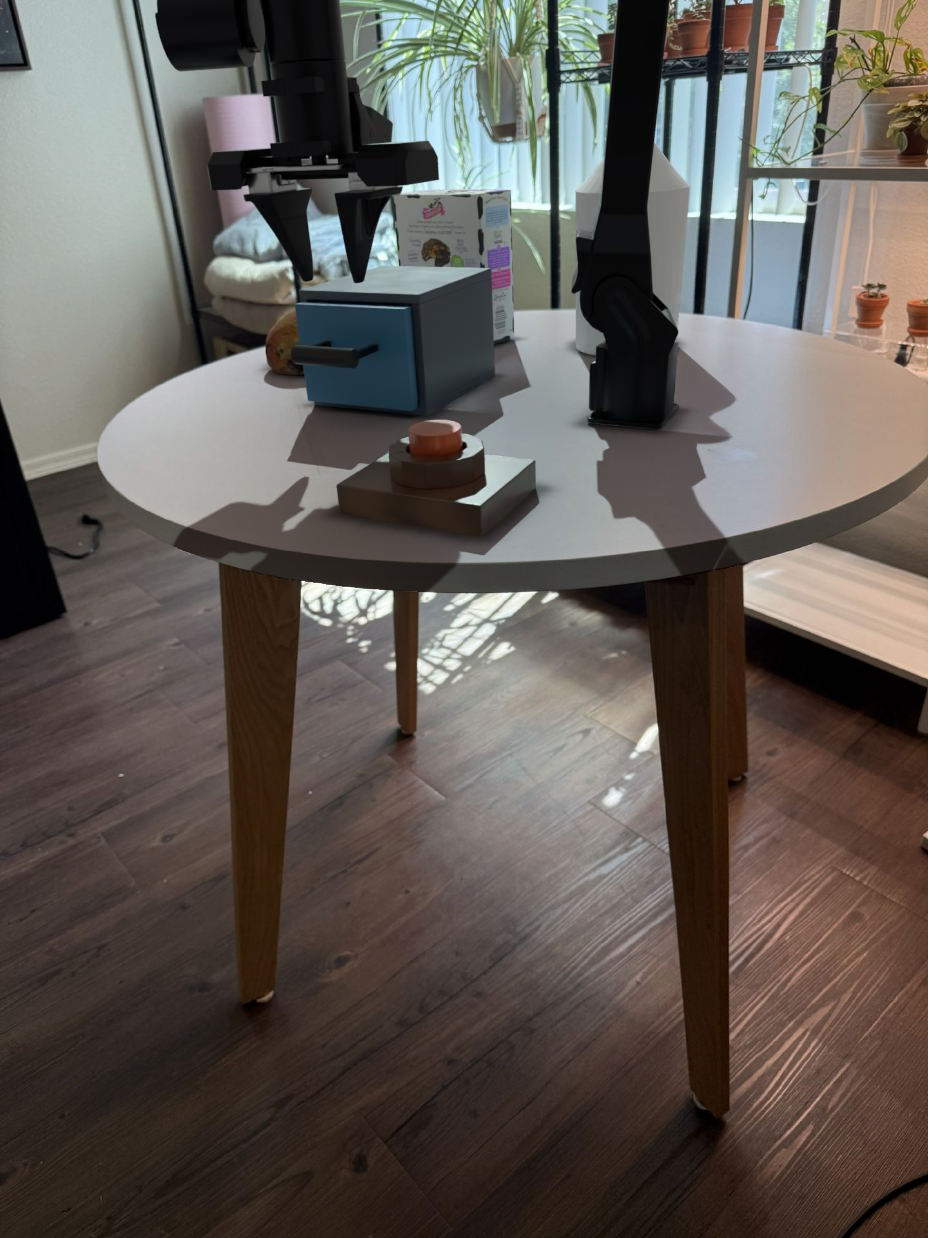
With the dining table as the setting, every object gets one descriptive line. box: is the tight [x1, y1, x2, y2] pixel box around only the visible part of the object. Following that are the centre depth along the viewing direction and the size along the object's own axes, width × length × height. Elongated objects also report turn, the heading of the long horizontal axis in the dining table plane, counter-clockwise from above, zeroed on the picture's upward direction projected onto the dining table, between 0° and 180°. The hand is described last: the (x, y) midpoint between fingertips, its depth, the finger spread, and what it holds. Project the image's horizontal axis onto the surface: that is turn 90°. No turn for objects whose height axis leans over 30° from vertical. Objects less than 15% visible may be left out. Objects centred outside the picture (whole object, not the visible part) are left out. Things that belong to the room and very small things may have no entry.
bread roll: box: [264, 309, 304, 376], centre depth 98 cm, size 10×10×8 cm
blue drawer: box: [291, 300, 419, 411], centre depth 82 cm, size 18×11×9 cm, turn 153°
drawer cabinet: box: [298, 265, 496, 417], centre depth 85 cm, size 15×13×11 cm
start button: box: [407, 419, 463, 458], centre depth 60 cm, size 4×4×2 cm
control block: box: [335, 433, 537, 538], centre depth 61 cm, size 11×9×4 cm
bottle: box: [575, 102, 691, 356], centre depth 94 cm, size 12×12×25 cm
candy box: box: [391, 188, 515, 345], centre depth 104 cm, size 14×6×16 cm, turn 48°
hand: (333, 281), depth 74 cm, fingers open, 5 cm apart
